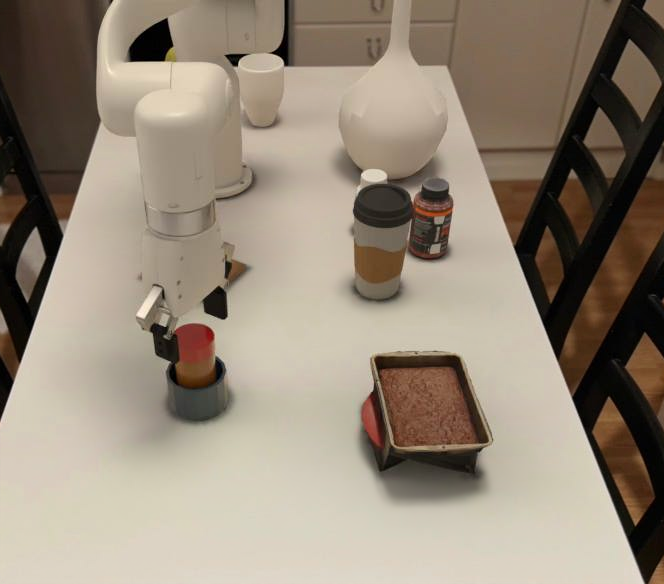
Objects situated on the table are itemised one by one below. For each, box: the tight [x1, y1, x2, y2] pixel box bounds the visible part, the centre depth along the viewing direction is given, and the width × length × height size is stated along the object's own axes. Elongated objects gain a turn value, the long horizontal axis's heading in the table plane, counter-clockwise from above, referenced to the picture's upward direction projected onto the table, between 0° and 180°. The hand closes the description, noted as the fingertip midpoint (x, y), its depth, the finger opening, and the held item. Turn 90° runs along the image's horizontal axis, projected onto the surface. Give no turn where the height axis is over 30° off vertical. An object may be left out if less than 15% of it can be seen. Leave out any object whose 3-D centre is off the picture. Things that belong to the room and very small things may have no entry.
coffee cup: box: [352, 183, 413, 300], centre depth 129 cm, size 8×8×15 cm
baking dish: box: [361, 350, 494, 475], centre depth 109 cm, size 14×18×10 cm
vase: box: [338, 0, 449, 180], centre depth 150 cm, size 18×18×30 cm
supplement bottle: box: [408, 177, 455, 259], centre depth 137 cm, size 6×6×11 cm
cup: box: [165, 355, 229, 422], centre depth 115 cm, size 7×7×5 cm
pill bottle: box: [354, 169, 388, 200], centre depth 142 cm, size 5×5×10 cm
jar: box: [174, 322, 217, 389], centre depth 113 cm, size 5×5×10 cm
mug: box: [237, 53, 285, 128], centre depth 170 cm, size 12×8×11 cm
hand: (192, 336), depth 109 cm, fingers open, 9 cm apart
